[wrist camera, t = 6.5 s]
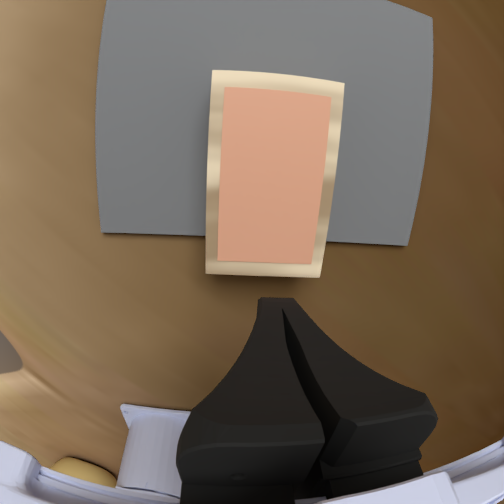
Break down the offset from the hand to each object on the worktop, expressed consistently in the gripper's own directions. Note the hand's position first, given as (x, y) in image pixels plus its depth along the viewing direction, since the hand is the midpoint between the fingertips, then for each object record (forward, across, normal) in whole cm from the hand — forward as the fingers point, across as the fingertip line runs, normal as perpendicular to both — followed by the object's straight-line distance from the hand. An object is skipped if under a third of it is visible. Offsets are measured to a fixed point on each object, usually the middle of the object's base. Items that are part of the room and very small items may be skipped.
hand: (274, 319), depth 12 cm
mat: (+8, 0, -8) cm, 11 cm away
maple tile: (+6, 0, +1) cm, 6 cm away
